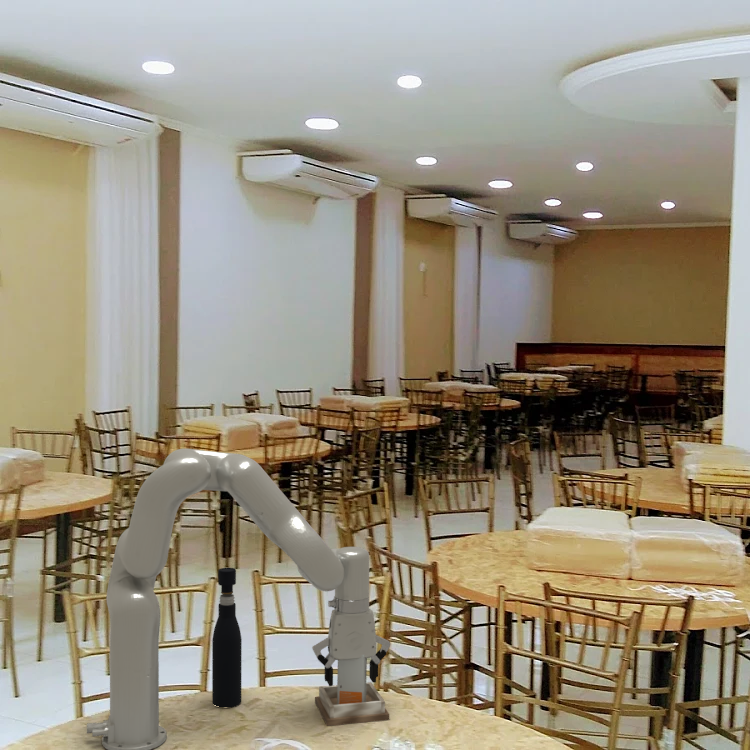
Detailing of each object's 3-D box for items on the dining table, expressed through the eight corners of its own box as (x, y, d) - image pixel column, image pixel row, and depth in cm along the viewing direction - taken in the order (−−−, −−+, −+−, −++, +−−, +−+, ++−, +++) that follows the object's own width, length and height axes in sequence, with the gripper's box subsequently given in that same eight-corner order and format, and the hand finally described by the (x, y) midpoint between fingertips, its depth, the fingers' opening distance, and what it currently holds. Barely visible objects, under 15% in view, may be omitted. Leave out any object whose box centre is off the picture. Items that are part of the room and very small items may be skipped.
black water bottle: (235, 709, 205) (235, 573, 204) (207, 706, 206) (208, 572, 205) (245, 698, 211) (245, 566, 210) (218, 696, 212) (218, 565, 211)
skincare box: (336, 708, 203) (336, 653, 202) (339, 701, 207) (339, 647, 206) (364, 709, 202) (364, 654, 201) (366, 702, 206) (367, 648, 206)
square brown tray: (327, 725, 196) (327, 708, 196) (314, 702, 209) (314, 685, 209) (389, 719, 199) (389, 702, 199) (373, 696, 213) (373, 680, 212)
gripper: (316, 612, 198) (315, 691, 198) (394, 606, 202) (394, 685, 203) (309, 602, 205) (309, 679, 206) (385, 597, 209) (385, 673, 210)
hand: (351, 682), depth 204 cm, fingers open, 9 cm apart
